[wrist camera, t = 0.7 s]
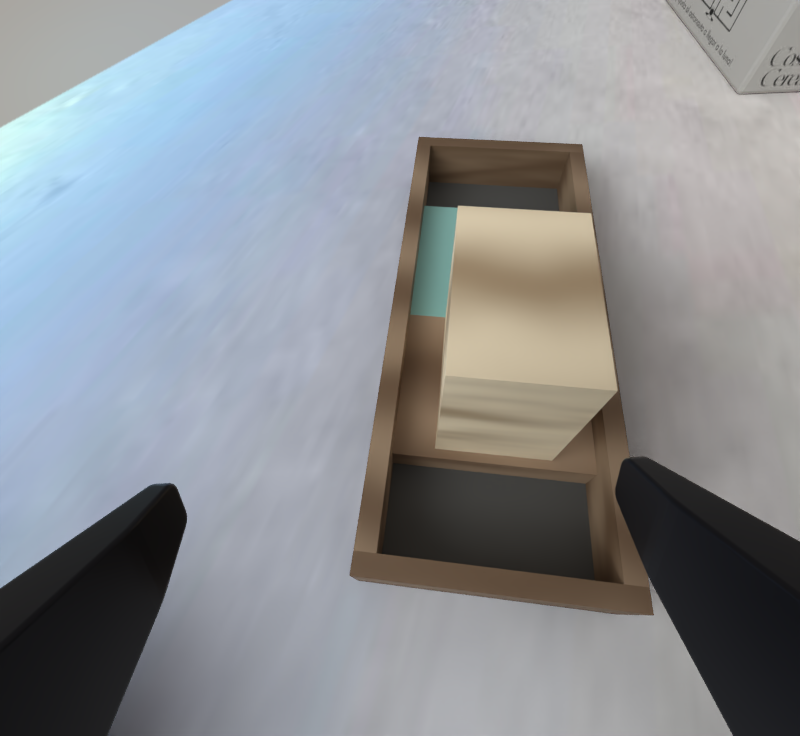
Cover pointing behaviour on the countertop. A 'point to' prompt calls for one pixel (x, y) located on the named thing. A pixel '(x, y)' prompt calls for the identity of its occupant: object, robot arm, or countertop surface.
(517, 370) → the maple block
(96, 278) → the countertop surface
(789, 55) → the cereal box
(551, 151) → the box
